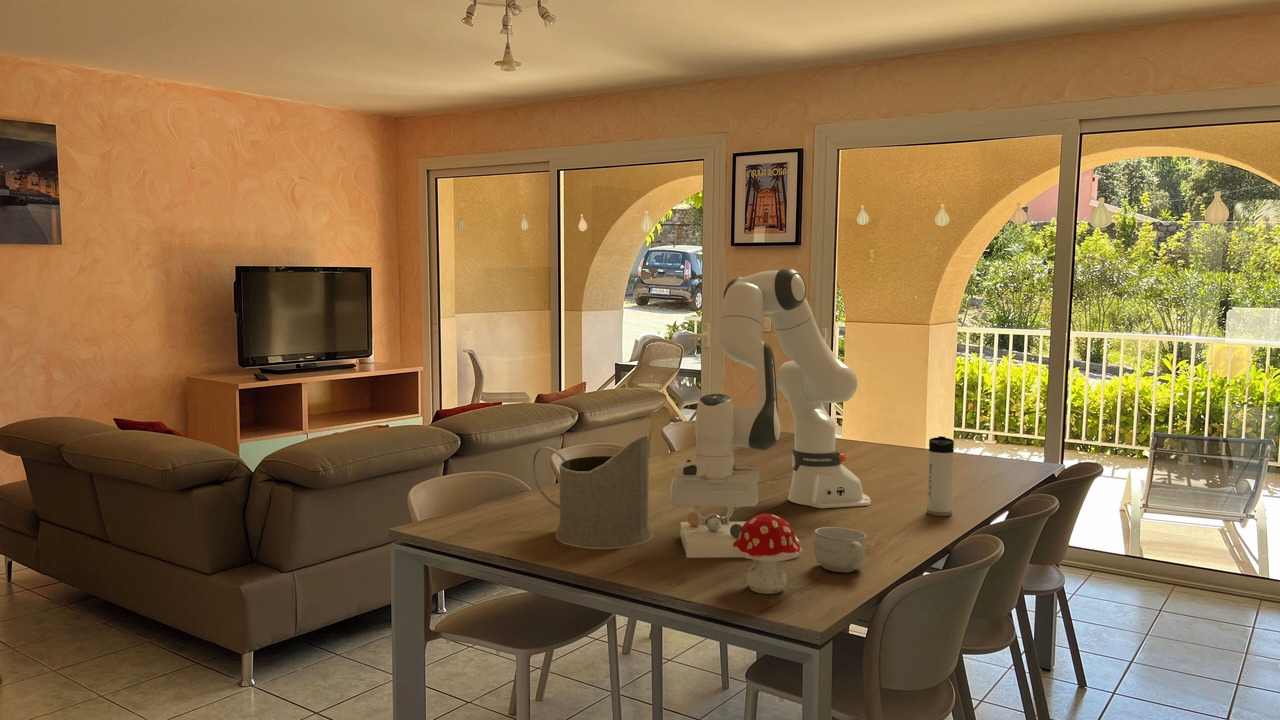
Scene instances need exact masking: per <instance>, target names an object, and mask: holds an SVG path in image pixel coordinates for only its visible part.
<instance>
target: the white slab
mask: <svg viewBox="0 0 1280 720" xmlns="http://www.w3.org/2000/svg"><path fill="white" fill-rule="evenodd" d="M746 522H747V521H729V525H722V527H721V528H720V529H719V530H717V531H711V530H709V529H708V528H707V527H706V525H703V526H699V525H698V526H692V525H690V524H689V523H688V521H680V540H681V542H682V545H683V549H684V553H685V557H686V558H687V559H689V558H690V559H693V558H694V559H696V558H703V559H704V558H706V559H707V558H711V559H712V558H743V557H742V556H740V555H737V554H736V553H735V552H734V550H733V548H732V545H733V543H734V542H735V541H736V540H737V538H735V537H733V536H732V535H731V533H730V528H731V526H732V525H734V524H739V525H741V526H743V525H744V524H745V523H746ZM795 538H796V541H797V543H798V544H799V545H800V540H799V539H798V537H797V536H796V535H795ZM798 557H800V555H798V556H797V557H796V558H798Z"/></svg>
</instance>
